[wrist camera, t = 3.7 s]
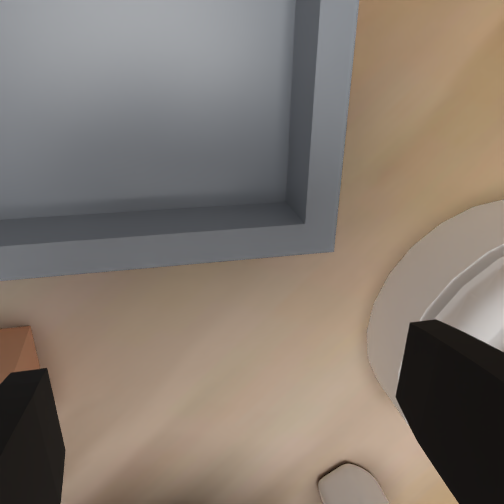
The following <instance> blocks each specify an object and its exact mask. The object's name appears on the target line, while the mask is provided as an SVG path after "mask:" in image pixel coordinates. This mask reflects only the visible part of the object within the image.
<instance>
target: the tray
mask: <svg viewBox="0 0 504 504" xmlns="http://www.w3.org/2000/svg"><path fill="white" fill-rule="evenodd" d="M358 6H359V0H0V281H5V280H17V279H28V278H40V277H51V276H62V275H74V274H85V273H97V272H108V271H119V270H131V269H142V268H154V267H165V266H177V265H188V264H199V263H211V262H222V261H234V260H245V259H256V258H268V257H279V256H291V255H302V254H314V253H325V252H334V245H335V235H336V225H337V215H338V205H339V195H340V185H341V175H342V166H343V156H344V146H345V136H346V126H347V116H348V106H349V96H350V86H351V76H352V66H353V56H354V46H355V36H356V26H357V16H358Z"/></svg>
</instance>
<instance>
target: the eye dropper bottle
mask: <svg viewBox="0 0 504 504" xmlns="http://www.w3.org/2000/svg"><path fill="white" fill-rule="evenodd" d="M318 489H319V494H320V497H321V500H322V502H323V504H389V502H388V500H387V498H386V496H385V494H384V492H383V490H382V489H381V487H380V485H379V483H378V482H377V480H376V479H375V478H374V477H373V476H372V475H371V474H370V473H369V472H367V471H366V470H364V469H363V468H361V467H358V466H356V465H353V464H344V465H341V466H340V467H338V468H336V469H335V470H333V471H332V472H330V473H329V474H327V475H326V476H324V477H323V478H322V479H321V480H320V481H319V483H318Z"/></svg>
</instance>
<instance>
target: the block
mask: <svg viewBox="0 0 504 504" xmlns="http://www.w3.org/2000/svg"><path fill="white" fill-rule="evenodd" d="M35 369H40V365H39V361H38V357H37V352H36V348H35V344H34V339H33V335H32V331H31V327H30V326H24V327H15V328H6V329H0V384H1V383H2V382H3V380H4V379H5V378H6V377H7V376H8V375H9V374H10V373H12V372H19V371H27V370H35Z"/></svg>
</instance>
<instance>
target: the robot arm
mask: <svg viewBox="0 0 504 504" xmlns="http://www.w3.org/2000/svg"><path fill="white" fill-rule="evenodd" d="M395 397H396V399H397V402H398V404H399V406H400V408H401V410H402V412H403V414H404V416H405V418H406V420H407V422H408V424H409V426H410V428H411V430H412V432H413V434H414V436H415V438H416V440H417V441H418V443H419V444H420V446H421V448H422V449H423V451H424V452H425V454H426V455H427V457H428V458H429V460H430V461H431V463H432V464H433V466H434V467H435V469H436V470H437V472H438V473H439V475H440V476H441V478H442V479H443V481H444V482H445V484H446V485H447V487H448V488H449V490H450V491H451V493H452V494H453V495H454V497H455V498H456V500H457V501H458V503H459V504H504V352H502V351H500V350H498V349H497V348H495V347H493V346H491V345H489V344H487V343H485V342H483V341H481V340H479V339H477V338H475V337H473V336H471V335H469V334H467V333H465V332H463V331H461V330H459V329H457V328H455V327H452V326H450V325H448V324H446V323H443V322H441V321H439V320H436V319H434V320H426V321H418V322H410V324H409V329H408V334H407V339H406V344H405V350H404V355H403V360H402V365H401V370H400V376H399V381H398V386H397V391H396V396H395ZM64 460H65V446H64V442H63V437H62V433H61V428H60V424H59V419H58V415H57V410H56V406H55V401H54V397H53V392H52V388H51V383H50V379H49V374H48V370H47V368H43V369H35V370H27V371H19V372H12V373H10V374H9V375H8V376H7V377H6V378H5V379H4V380H3V382H2V383H1V384H0V504H60V503H61V494H62V484H63V472H64Z"/></svg>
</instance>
